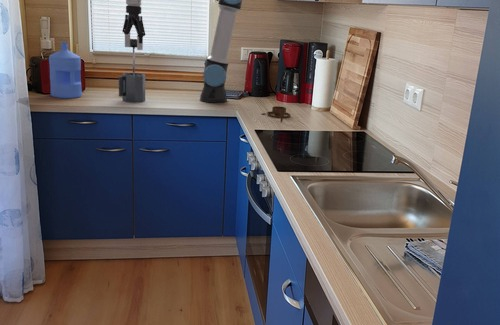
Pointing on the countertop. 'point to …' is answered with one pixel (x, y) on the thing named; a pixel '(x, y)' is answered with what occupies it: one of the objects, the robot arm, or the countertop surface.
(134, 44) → the plunger
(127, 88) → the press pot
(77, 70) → the water jug
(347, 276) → the countertop surface
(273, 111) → the place setting
